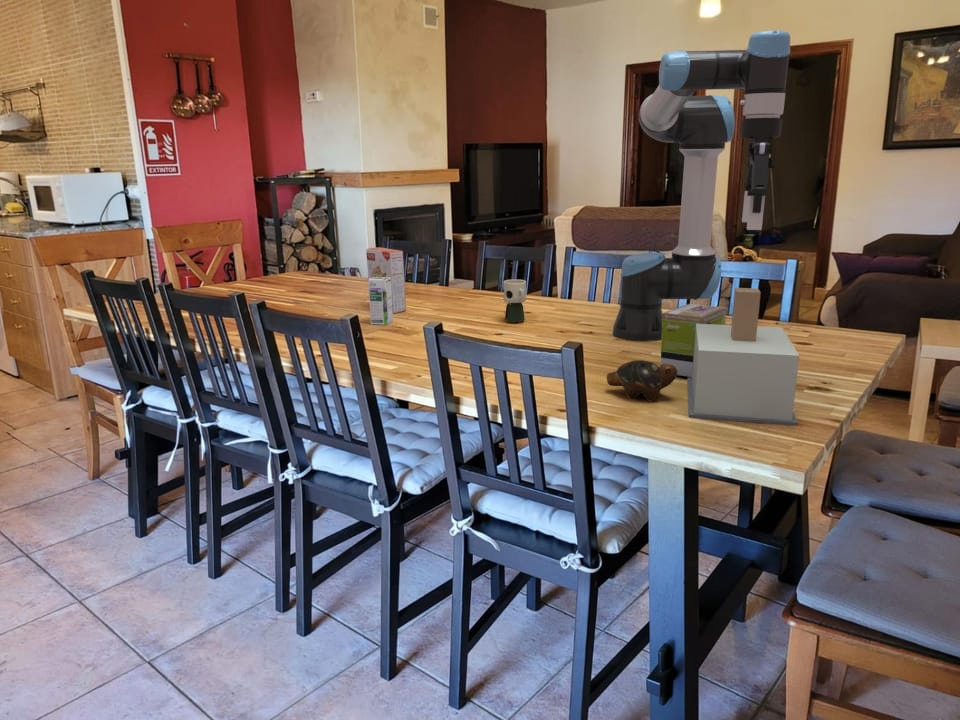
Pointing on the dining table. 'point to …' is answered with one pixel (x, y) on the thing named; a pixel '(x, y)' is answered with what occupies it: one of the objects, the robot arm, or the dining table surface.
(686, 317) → the tea box
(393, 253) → the cracker box
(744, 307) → the cover
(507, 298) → the character mug
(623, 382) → the decorative turtle
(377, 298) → the syrup box
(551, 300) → the dining table surface
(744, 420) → the mat
